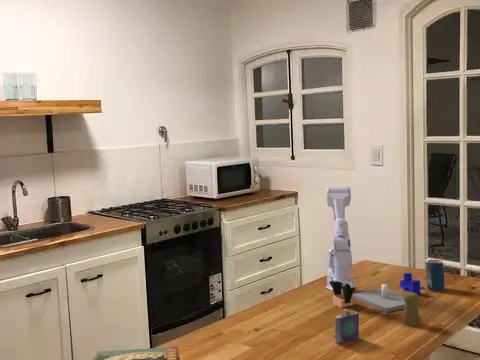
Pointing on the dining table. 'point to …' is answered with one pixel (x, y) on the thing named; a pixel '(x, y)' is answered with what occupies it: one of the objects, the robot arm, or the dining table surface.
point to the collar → (341, 301)
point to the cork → (411, 310)
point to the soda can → (435, 275)
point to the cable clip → (410, 284)
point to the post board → (382, 299)
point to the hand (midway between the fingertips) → (342, 300)
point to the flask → (346, 327)
